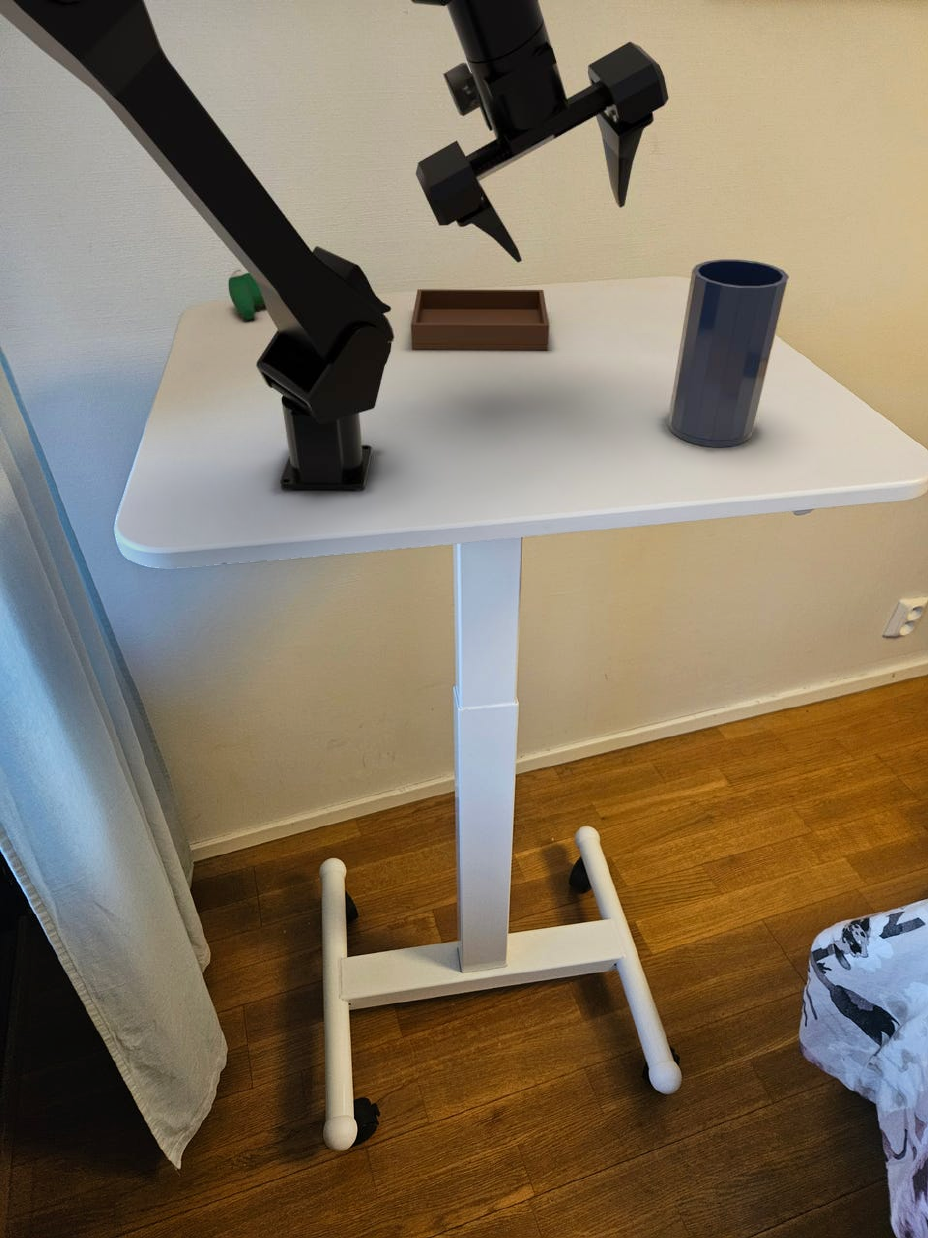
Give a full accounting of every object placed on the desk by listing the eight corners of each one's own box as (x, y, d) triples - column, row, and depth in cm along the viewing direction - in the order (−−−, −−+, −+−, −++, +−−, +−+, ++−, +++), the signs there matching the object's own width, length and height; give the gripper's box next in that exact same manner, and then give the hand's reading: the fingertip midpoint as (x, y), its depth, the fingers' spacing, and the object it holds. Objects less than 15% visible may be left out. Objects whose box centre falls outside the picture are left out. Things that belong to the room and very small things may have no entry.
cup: (761, 447, 71) (799, 287, 62) (675, 446, 71) (703, 287, 63) (741, 410, 76) (774, 259, 68) (661, 409, 76) (685, 258, 68)
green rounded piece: (311, 315, 100) (290, 270, 100) (320, 298, 97) (297, 251, 97) (239, 332, 96) (216, 285, 96) (245, 315, 93) (222, 265, 93)
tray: (547, 350, 87) (549, 324, 86) (411, 349, 87) (410, 324, 86) (542, 313, 96) (543, 289, 94) (418, 312, 96) (417, 288, 94)
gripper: (591, -70, 61) (639, 134, 73) (365, 65, 65) (447, 240, 77) (647, -25, 55) (689, 192, 67) (392, 124, 58) (476, 305, 70)
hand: (568, 232), depth 70 cm, fingers open, 9 cm apart
